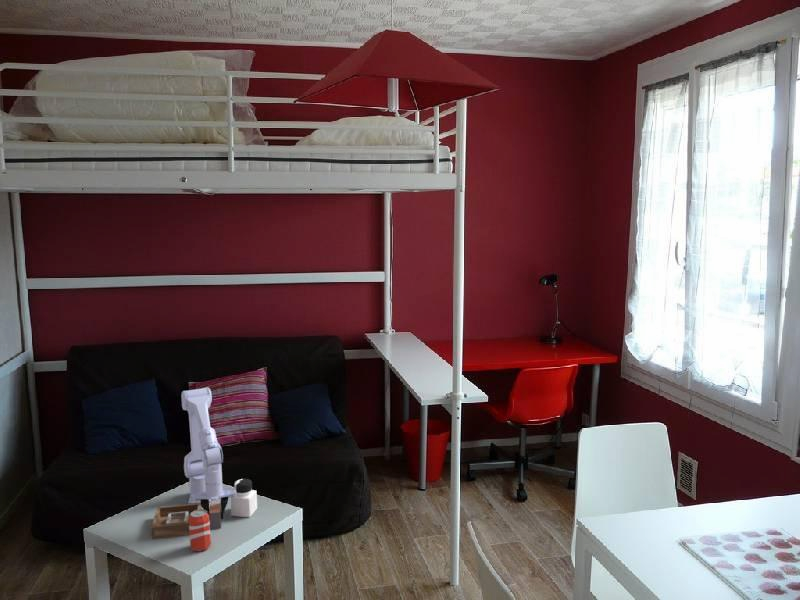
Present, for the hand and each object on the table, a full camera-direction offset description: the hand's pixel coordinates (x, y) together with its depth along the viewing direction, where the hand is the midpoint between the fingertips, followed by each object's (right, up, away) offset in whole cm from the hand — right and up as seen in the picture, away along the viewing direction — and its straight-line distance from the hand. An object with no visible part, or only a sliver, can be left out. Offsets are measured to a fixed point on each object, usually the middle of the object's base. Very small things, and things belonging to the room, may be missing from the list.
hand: (215, 518), depth 230 cm
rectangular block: (0, -3, 0) cm, 3 cm away
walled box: (-13, -3, +1) cm, 14 cm away
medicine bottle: (+8, -1, +10) cm, 13 cm away
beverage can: (-1, -5, -14) cm, 15 cm away
